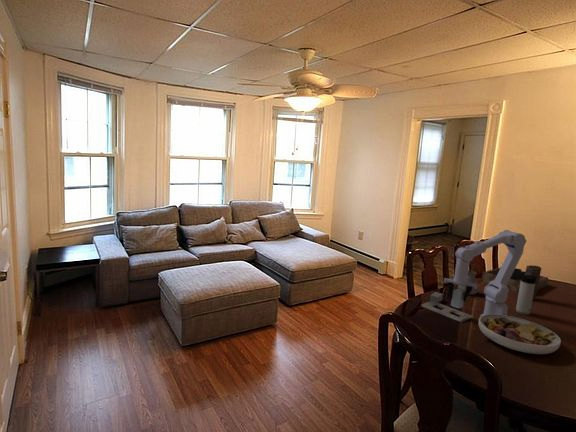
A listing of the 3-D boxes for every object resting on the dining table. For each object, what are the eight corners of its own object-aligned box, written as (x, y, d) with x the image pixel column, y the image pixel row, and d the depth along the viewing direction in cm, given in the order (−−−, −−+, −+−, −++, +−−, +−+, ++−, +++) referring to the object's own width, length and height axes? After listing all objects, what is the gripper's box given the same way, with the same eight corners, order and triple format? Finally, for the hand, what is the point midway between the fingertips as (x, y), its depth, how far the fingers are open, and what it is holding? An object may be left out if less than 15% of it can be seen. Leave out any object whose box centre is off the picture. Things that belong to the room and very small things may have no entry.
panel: (471, 317, 175) (471, 315, 175) (461, 322, 169) (461, 319, 169) (431, 302, 192) (432, 300, 192) (421, 306, 186) (421, 303, 185)
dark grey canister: (538, 302, 205) (544, 268, 203) (525, 301, 206) (531, 267, 203) (529, 297, 213) (535, 264, 210) (517, 296, 213) (522, 263, 210)
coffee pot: (476, 297, 205) (480, 272, 203) (455, 292, 212) (458, 268, 210) (482, 288, 223) (485, 265, 221) (461, 284, 229) (465, 261, 227)
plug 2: (462, 307, 176) (465, 291, 174) (458, 308, 173) (461, 292, 172) (454, 304, 179) (457, 288, 178) (450, 305, 176) (452, 290, 175)
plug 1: (434, 298, 199) (435, 291, 199) (441, 300, 197) (442, 293, 196) (429, 302, 193) (430, 295, 193) (436, 304, 191) (438, 297, 190)
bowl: (484, 318, 177) (487, 303, 176) (560, 340, 158) (563, 323, 157) (470, 338, 154) (472, 321, 152) (556, 367, 135) (560, 347, 134)
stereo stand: (546, 287, 235) (548, 277, 234) (527, 295, 215) (529, 284, 214) (502, 276, 256) (503, 266, 255) (481, 282, 237) (483, 272, 236)
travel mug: (532, 316, 184) (539, 278, 181) (518, 314, 185) (525, 276, 182) (527, 311, 190) (533, 274, 187) (513, 309, 191) (519, 273, 188)
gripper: (477, 273, 174) (473, 300, 176) (445, 268, 180) (441, 293, 182) (478, 277, 168) (474, 304, 170) (445, 271, 174) (441, 298, 175)
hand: (457, 299), depth 175 cm, fingers closed on plug 2, 5 cm apart
